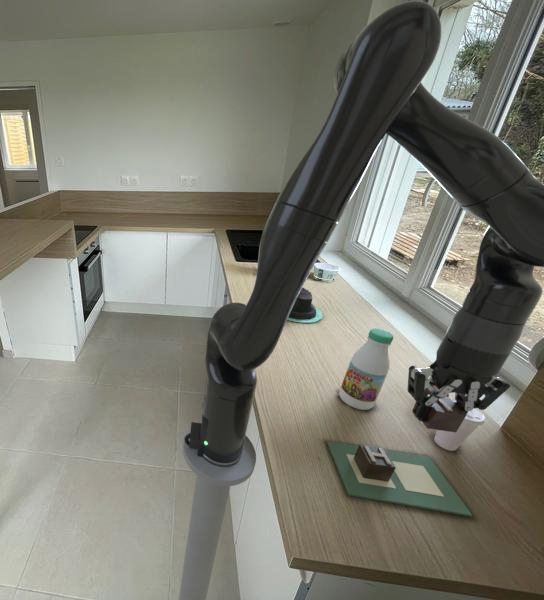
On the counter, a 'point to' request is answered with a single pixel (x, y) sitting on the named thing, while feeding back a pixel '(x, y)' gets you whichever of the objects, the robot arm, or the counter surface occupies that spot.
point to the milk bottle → (367, 371)
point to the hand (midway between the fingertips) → (434, 419)
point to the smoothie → (460, 431)
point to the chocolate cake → (304, 309)
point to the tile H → (374, 463)
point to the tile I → (444, 416)
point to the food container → (325, 271)
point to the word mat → (399, 481)
